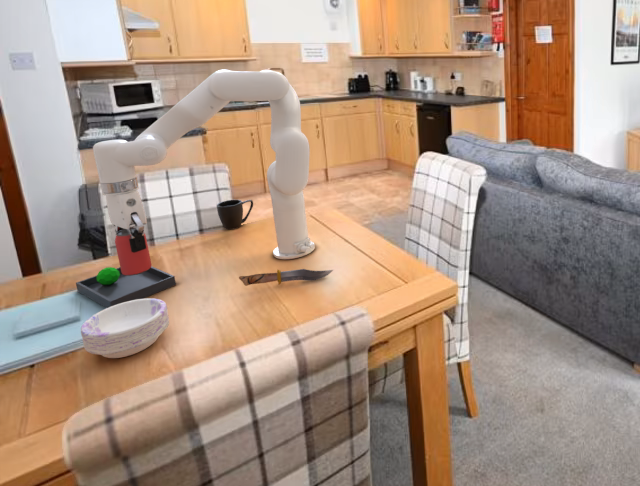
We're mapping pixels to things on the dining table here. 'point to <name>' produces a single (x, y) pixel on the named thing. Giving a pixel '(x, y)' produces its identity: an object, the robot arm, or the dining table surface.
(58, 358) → the dining table surface
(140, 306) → the paper bowls
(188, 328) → the dining table surface
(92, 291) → the tray
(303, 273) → the knife
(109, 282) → the lime
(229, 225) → the mug
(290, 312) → the dining table surface
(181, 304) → the dining table surface
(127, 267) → the beer can
